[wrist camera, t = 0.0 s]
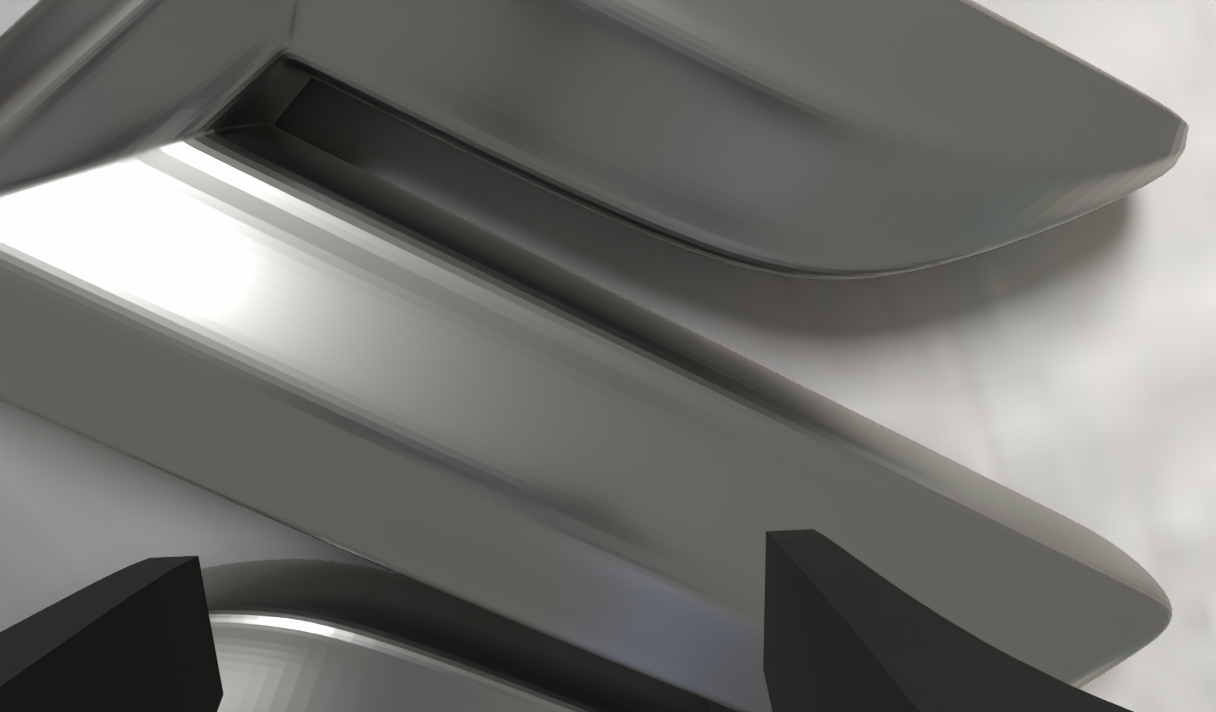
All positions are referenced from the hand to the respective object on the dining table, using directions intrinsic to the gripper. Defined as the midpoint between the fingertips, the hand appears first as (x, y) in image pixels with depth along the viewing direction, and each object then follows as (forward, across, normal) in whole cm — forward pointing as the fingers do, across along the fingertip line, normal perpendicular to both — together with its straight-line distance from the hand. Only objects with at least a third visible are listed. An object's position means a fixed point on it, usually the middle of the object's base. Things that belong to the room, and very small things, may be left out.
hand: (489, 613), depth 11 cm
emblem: (+11, 0, +1) cm, 11 cm away
